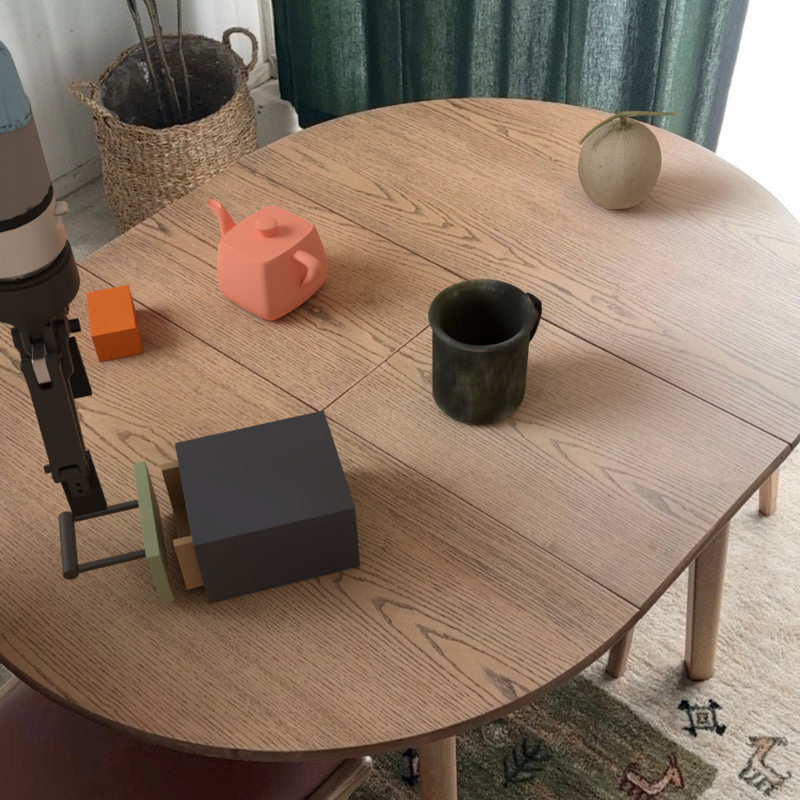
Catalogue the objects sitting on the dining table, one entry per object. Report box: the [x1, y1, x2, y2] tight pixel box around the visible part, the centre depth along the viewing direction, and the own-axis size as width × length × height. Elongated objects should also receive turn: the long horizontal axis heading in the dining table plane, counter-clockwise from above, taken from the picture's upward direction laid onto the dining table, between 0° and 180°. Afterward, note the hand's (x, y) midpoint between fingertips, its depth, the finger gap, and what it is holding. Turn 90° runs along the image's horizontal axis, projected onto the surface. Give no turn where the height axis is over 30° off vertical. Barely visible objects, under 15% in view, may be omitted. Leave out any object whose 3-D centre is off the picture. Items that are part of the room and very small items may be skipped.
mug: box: [427, 278, 543, 426], centre depth 114 cm, size 11×15×12 cm
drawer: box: [57, 460, 204, 605], centre depth 100 cm, size 21×11×7 cm, turn 106°
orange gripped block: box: [85, 284, 143, 363], centre depth 124 cm, size 5×8×4 cm, turn 16°
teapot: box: [206, 198, 329, 322], centre depth 127 cm, size 12×18×10 cm, turn 51°
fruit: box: [577, 110, 678, 210], centre depth 136 cm, size 10×12×15 cm
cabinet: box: [174, 410, 361, 604], centre depth 101 cm, size 15×13×9 cm
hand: (83, 450), depth 90 cm, fingers open, 13 cm apart
